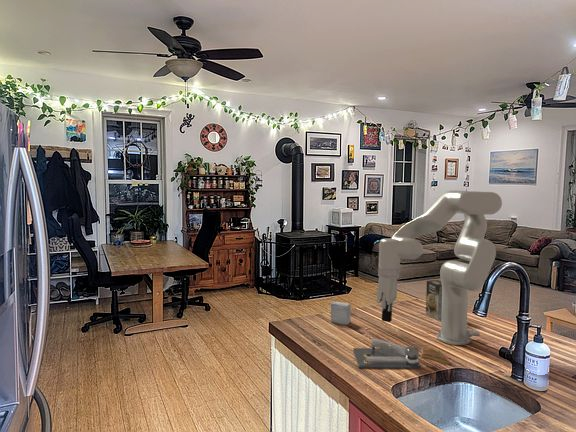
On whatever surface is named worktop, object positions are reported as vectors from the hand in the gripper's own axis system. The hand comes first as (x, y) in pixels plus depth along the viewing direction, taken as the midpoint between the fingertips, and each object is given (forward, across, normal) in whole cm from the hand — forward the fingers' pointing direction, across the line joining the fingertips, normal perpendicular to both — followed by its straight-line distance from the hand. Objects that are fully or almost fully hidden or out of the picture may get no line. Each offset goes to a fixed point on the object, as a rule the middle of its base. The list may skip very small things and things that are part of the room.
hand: (386, 320), depth 150 cm
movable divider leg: (+10, +6, +5) cm, 13 cm away
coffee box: (+10, -50, +8) cm, 52 cm away
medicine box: (+12, -20, -27) cm, 35 cm away
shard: (+12, -5, +18) cm, 22 cm away
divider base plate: (+12, +7, +2) cm, 14 cm away
